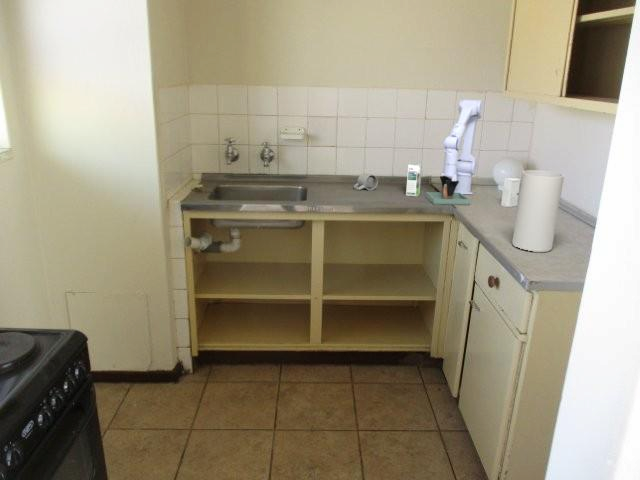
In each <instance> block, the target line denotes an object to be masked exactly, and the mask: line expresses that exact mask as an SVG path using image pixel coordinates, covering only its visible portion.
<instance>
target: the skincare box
mask: <svg viewBox="0 0 640 480" xmlns="http://www.w3.org/2000/svg"><path fill="white" fill-rule="evenodd" d="M520 185H521V178H517V177H507V178H506V177H505V178H504V180H503V187H502V193H501V194H502V196H501V204H500V205H501V206H502V207H505V208H512V207H517V206H518V199H519V192H520Z"/></svg>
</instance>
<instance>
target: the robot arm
mask: <svg viewBox="0 0 640 480" xmlns="http://www.w3.org/2000/svg"><path fill="white" fill-rule="evenodd" d="M483 109H484V103H483V101H482V99H464V98H462V99H461V100H459V103H458V113H459V115H458V118H457V122H456V123H454V124H453V126H452V128H451V130H450V132H449V135H448V136H447V137H445V139H444V141H443V148H444V151H443V152H444V163H443V170H442V172H441V173H440V176H439V178H440V181H441V188H442V191H443V190H444V184H447V195H448V196H453V193H461V194H463V195H473V194H474V193H473V192H472V191H471V190H472V189H471V187H472V180H473V176H474V175H475V174H476V172H477V168H478V164H477V163H478V159H477V158H476V157H475V156H474V155H473V150H474V144H475V137H476V129H477V123H478V120H479V119H482V115H483ZM461 147H462V150H461ZM460 150H461V154H459V151H460Z"/></svg>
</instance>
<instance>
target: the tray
mask: <svg viewBox="0 0 640 480" xmlns="http://www.w3.org/2000/svg"><path fill="white" fill-rule="evenodd" d="M425 198H426V200H428V201H429V202H430V203H431V204H432V205H435V206H437V205H438V206H470V201H471V199H470V198H468V197H467V196H465V194H461V193H455V192H454V195H453V199H443V191H442V192H437V191H436V192H434V191H432V192H431V191H427V192H425Z"/></svg>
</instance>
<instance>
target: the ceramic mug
mask: <svg viewBox="0 0 640 480" xmlns="http://www.w3.org/2000/svg"><path fill="white" fill-rule="evenodd" d="M356 180H357V183H355V184H354V185H353V187H354V190H355V191H360V190H363V189H365V190H366V191H373V190H375V189H376V188H377V186H378V182H379V181H378V177H377V176H376V175H375V174H370V173H361V174H359V176H357V179H356Z"/></svg>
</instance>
